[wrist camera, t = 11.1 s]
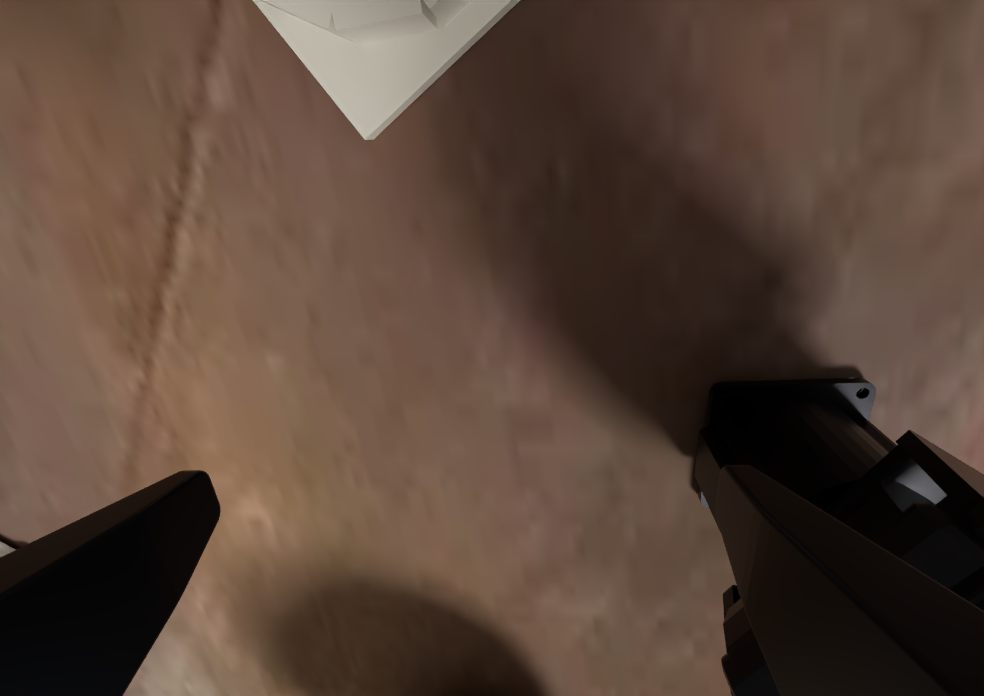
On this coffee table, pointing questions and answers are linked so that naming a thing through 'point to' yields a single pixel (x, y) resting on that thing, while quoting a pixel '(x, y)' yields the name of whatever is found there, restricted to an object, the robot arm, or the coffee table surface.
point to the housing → (380, 48)
